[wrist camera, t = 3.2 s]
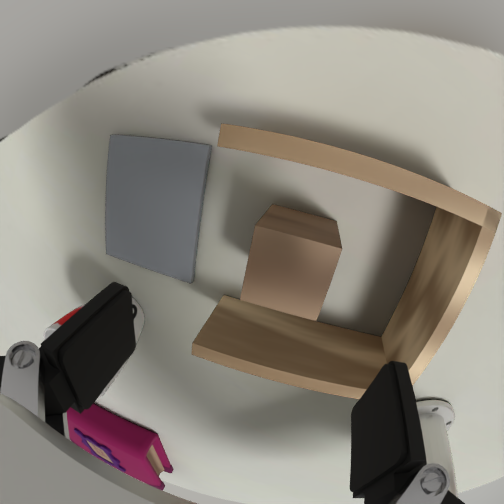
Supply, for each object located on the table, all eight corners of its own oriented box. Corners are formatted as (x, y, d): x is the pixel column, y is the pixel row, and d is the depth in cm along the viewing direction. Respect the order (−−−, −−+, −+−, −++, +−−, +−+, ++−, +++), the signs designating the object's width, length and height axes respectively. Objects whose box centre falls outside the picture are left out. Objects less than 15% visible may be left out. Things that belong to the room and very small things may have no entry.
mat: (193, 280, 25) (191, 283, 25) (109, 251, 27) (106, 253, 26) (211, 145, 20) (208, 145, 20) (114, 134, 22) (110, 134, 21)
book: (54, 375, 45) (35, 395, 39) (158, 429, 40) (140, 460, 33) (84, 425, 53) (70, 443, 47) (174, 469, 48) (162, 493, 41)
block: (318, 278, 22) (316, 320, 17) (259, 262, 23) (239, 299, 18) (336, 220, 20) (342, 248, 15) (272, 203, 21) (255, 225, 16)
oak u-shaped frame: (386, 348, 23) (397, 404, 17) (221, 305, 25) (191, 354, 19) (454, 191, 17) (501, 213, 11) (253, 130, 19) (221, 123, 13)
